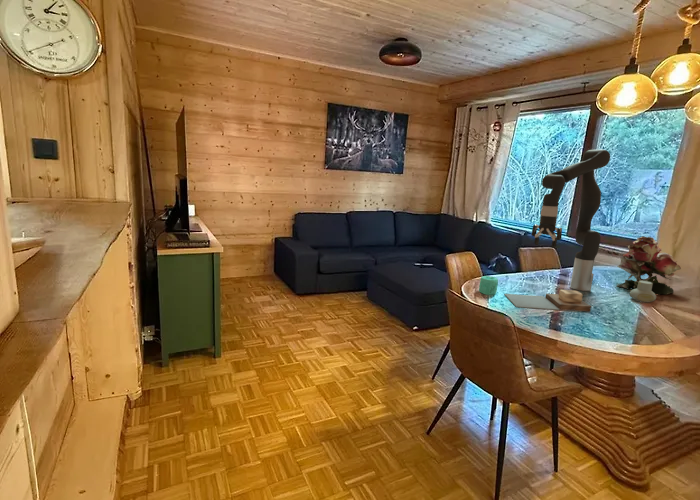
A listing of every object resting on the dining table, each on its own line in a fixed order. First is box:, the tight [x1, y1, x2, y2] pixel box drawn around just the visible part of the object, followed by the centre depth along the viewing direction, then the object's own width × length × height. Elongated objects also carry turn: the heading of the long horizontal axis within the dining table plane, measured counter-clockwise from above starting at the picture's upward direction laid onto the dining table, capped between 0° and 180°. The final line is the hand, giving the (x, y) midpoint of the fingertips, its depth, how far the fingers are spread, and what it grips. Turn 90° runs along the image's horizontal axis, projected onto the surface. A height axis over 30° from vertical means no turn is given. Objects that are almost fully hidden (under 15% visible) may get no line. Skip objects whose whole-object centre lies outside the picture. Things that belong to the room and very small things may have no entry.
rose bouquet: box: [616, 235, 682, 296], centre depth 223 cm, size 26×29×30 cm
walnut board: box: [545, 293, 592, 312], centre depth 191 cm, size 14×16×2 cm
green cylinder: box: [478, 275, 499, 296], centre depth 204 cm, size 8×8×8 cm
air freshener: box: [629, 281, 657, 304], centre depth 202 cm, size 11×8×10 cm
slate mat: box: [504, 293, 561, 311], centre depth 193 cm, size 20×19×1 cm
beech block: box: [558, 289, 584, 302], centre depth 190 cm, size 8×6×4 cm
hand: (544, 246), depth 202 cm, fingers open, 8 cm apart
